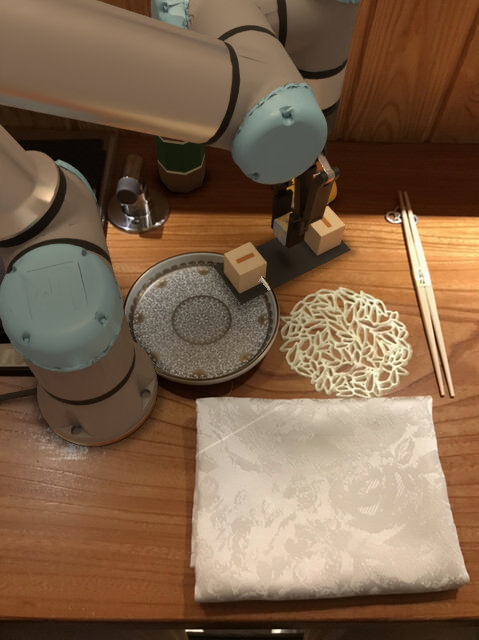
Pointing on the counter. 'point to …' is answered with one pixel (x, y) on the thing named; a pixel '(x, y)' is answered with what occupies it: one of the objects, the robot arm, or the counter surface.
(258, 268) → the small cardboard box
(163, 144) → the beer bottle
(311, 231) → the beige wooden block
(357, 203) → the counter surface
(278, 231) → the alphabet block
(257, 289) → the word mat
